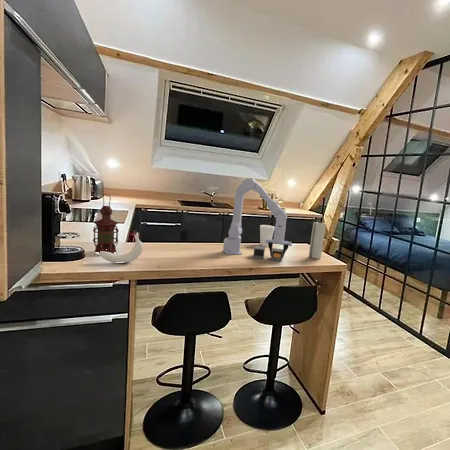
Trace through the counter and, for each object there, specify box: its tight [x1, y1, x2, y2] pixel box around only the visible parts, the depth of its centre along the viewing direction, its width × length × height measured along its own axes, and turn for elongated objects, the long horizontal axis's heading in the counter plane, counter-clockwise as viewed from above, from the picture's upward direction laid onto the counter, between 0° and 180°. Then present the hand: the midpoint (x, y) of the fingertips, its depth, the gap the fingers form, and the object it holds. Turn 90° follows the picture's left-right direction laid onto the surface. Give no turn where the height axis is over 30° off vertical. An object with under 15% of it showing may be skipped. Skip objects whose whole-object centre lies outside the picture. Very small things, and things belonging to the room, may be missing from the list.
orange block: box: [273, 251, 281, 258], centre depth 170 cm, size 4×4×4 cm
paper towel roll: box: [308, 221, 327, 260], centre depth 180 cm, size 7×6×21 cm
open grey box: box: [270, 247, 283, 262], centre depth 170 cm, size 6×6×6 cm
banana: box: [99, 231, 144, 263], centre depth 140 cm, size 5×19×15 cm, turn 110°
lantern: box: [92, 193, 120, 253], centre depth 152 cm, size 12×12×30 cm
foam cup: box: [259, 224, 275, 248], centre depth 200 cm, size 10×9×13 cm
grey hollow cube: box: [252, 245, 266, 260], centre depth 172 cm, size 6×6×6 cm
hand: (276, 256), depth 170 cm, fingers closed on open grey box, 6 cm apart
